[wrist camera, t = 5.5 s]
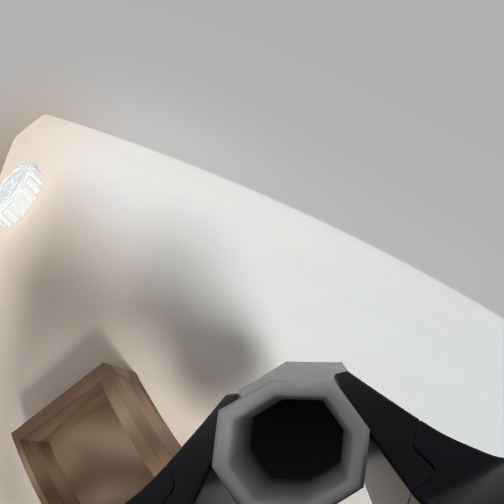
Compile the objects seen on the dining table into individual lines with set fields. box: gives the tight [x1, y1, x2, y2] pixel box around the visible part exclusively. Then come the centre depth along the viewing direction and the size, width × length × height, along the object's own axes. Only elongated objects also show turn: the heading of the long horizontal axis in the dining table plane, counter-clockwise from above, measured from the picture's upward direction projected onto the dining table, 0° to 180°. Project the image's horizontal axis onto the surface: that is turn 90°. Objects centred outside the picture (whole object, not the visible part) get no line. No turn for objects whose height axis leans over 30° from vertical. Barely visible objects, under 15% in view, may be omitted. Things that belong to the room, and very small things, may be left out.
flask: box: [212, 362, 370, 504], centre depth 9 cm, size 7×7×10 cm
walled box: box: [11, 363, 182, 504], centre depth 16 cm, size 14×14×5 cm
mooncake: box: [0, 163, 42, 228], centre depth 39 cm, size 12×12×4 cm
